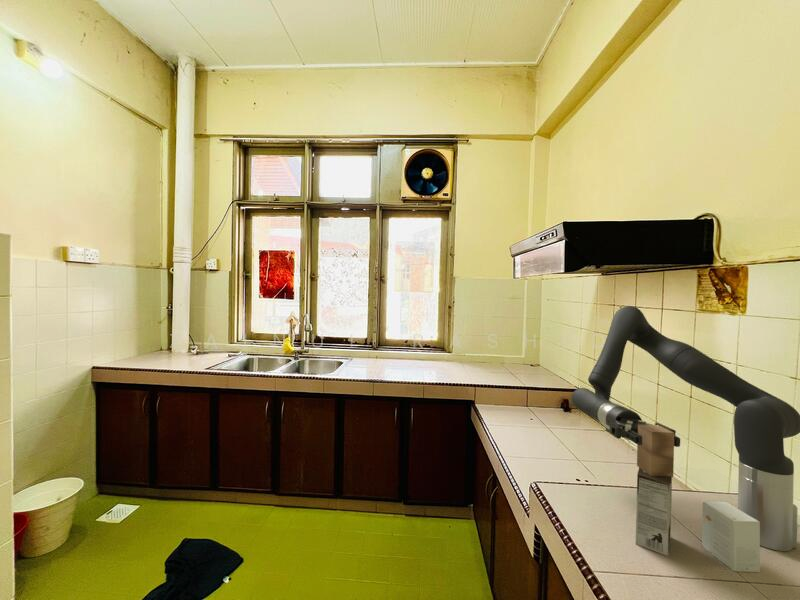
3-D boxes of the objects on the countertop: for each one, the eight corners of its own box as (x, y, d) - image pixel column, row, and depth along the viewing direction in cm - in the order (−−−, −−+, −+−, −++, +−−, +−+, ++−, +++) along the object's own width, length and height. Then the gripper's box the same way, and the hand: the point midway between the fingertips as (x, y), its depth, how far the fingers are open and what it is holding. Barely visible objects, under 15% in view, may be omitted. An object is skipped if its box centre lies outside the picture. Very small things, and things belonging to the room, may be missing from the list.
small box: (760, 573, 74) (761, 522, 74) (733, 572, 74) (734, 521, 74) (725, 547, 82) (726, 501, 82) (701, 546, 82) (702, 500, 82)
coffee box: (638, 525, 89) (640, 460, 89) (671, 537, 85) (672, 469, 85) (634, 544, 82) (636, 473, 82) (669, 557, 78) (671, 483, 78)
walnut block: (658, 466, 86) (659, 425, 86) (673, 476, 81) (674, 432, 81) (636, 465, 86) (637, 424, 86) (650, 475, 81) (651, 431, 81)
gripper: (592, 404, 99) (628, 424, 82) (645, 406, 98) (691, 426, 82) (592, 431, 98) (627, 456, 82) (644, 434, 98) (690, 459, 82)
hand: (659, 441), depth 82 cm, fingers open, 8 cm apart
